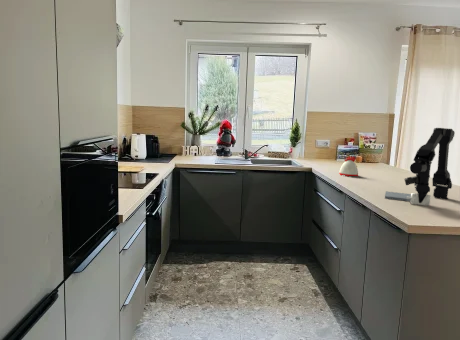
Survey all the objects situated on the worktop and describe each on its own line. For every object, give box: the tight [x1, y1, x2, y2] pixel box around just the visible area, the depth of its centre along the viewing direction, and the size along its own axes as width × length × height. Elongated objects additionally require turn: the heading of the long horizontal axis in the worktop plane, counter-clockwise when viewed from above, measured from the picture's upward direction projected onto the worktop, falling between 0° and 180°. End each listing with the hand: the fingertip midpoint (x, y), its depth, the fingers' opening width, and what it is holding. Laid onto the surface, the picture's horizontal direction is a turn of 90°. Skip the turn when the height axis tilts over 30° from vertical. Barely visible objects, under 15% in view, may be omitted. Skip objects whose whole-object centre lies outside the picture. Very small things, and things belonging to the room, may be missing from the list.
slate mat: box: [384, 191, 411, 202], centre depth 205 cm, size 16×16×1 cm
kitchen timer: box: [338, 155, 359, 177], centre depth 281 cm, size 14×14×15 cm
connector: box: [407, 192, 431, 206], centre depth 191 cm, size 11×4×5 cm, turn 66°
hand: (419, 201), depth 190 cm, fingers closed on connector, 4 cm apart
